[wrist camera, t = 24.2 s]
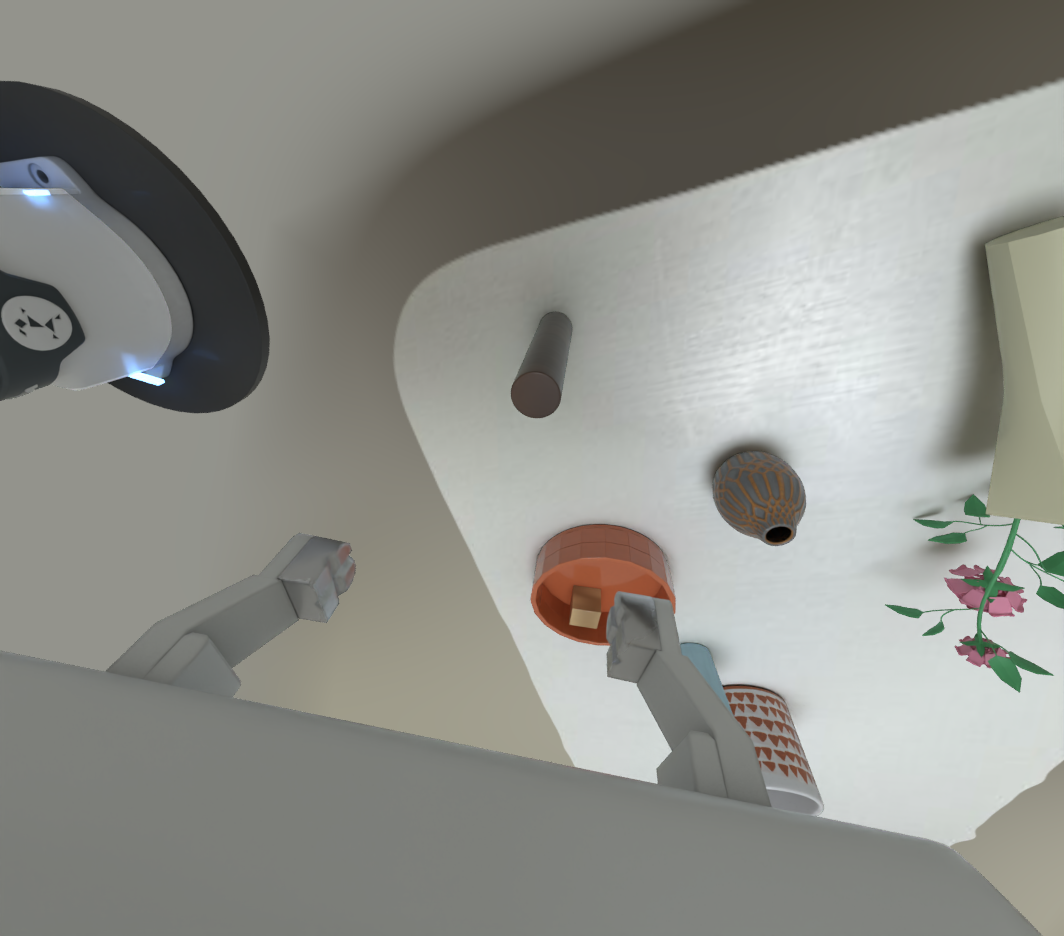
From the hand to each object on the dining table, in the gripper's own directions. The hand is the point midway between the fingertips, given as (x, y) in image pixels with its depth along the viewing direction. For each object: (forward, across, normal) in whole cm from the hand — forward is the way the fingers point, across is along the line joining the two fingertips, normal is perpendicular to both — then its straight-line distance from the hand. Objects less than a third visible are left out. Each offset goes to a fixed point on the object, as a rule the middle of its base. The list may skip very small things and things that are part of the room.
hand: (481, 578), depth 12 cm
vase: (+25, -20, +10) cm, 34 cm away
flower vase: (+25, -36, +4) cm, 44 cm away
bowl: (+25, -10, +28) cm, 39 cm away
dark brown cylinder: (+25, 0, 0) cm, 25 cm away
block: (+24, -9, +32) cm, 42 cm away
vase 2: (+25, -38, +54) cm, 71 cm away
